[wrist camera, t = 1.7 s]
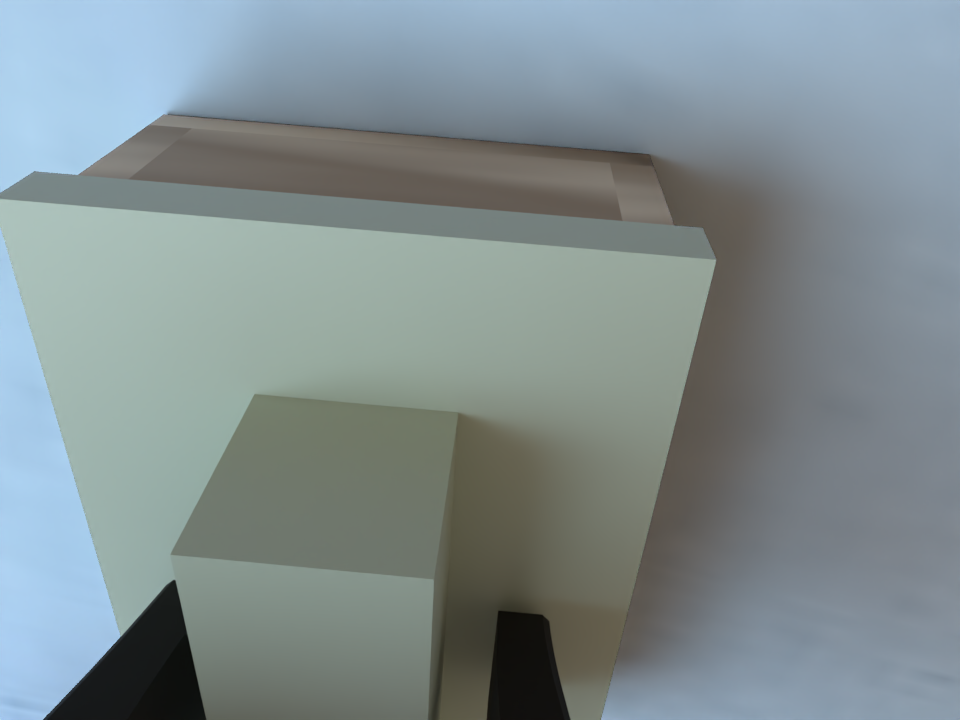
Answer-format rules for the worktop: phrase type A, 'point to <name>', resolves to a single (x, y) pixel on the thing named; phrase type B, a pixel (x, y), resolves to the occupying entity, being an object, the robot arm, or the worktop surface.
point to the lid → (359, 428)
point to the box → (391, 168)
